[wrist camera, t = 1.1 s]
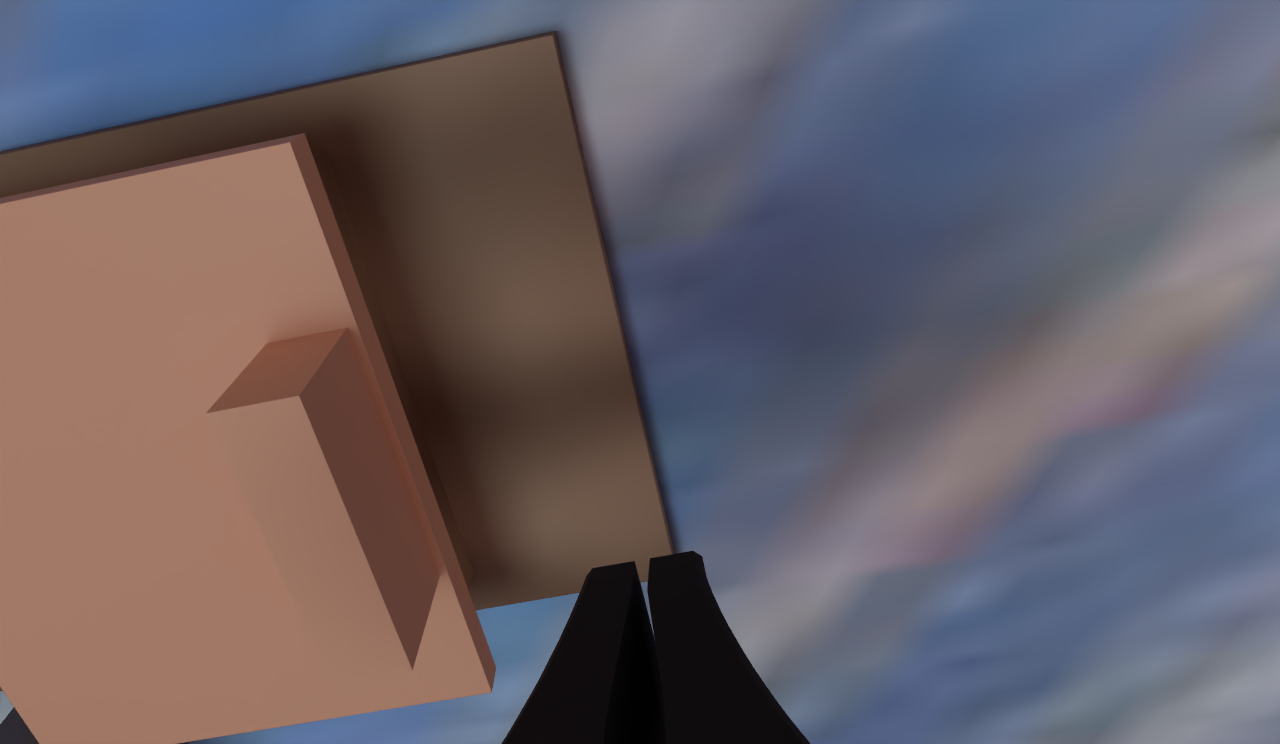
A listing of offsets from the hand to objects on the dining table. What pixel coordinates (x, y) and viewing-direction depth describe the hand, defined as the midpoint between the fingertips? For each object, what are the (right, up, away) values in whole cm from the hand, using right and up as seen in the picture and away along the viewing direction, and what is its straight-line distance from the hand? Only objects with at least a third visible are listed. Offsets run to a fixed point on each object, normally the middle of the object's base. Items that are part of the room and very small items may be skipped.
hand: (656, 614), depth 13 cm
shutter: (-10, +1, +7) cm, 12 cm away
